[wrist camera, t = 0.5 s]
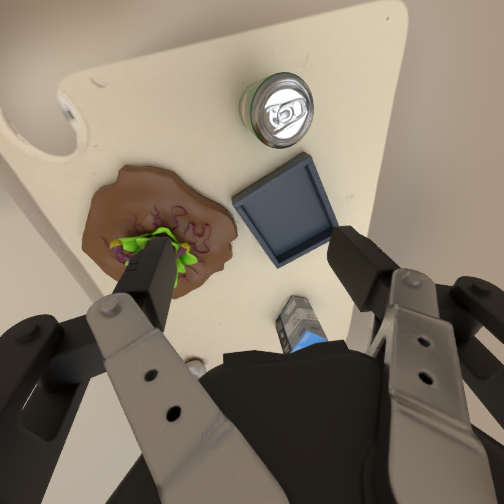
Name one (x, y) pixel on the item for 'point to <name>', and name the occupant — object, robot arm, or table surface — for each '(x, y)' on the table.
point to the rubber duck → (196, 368)
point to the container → (288, 211)
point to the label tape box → (298, 326)
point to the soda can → (277, 109)
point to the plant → (158, 225)
